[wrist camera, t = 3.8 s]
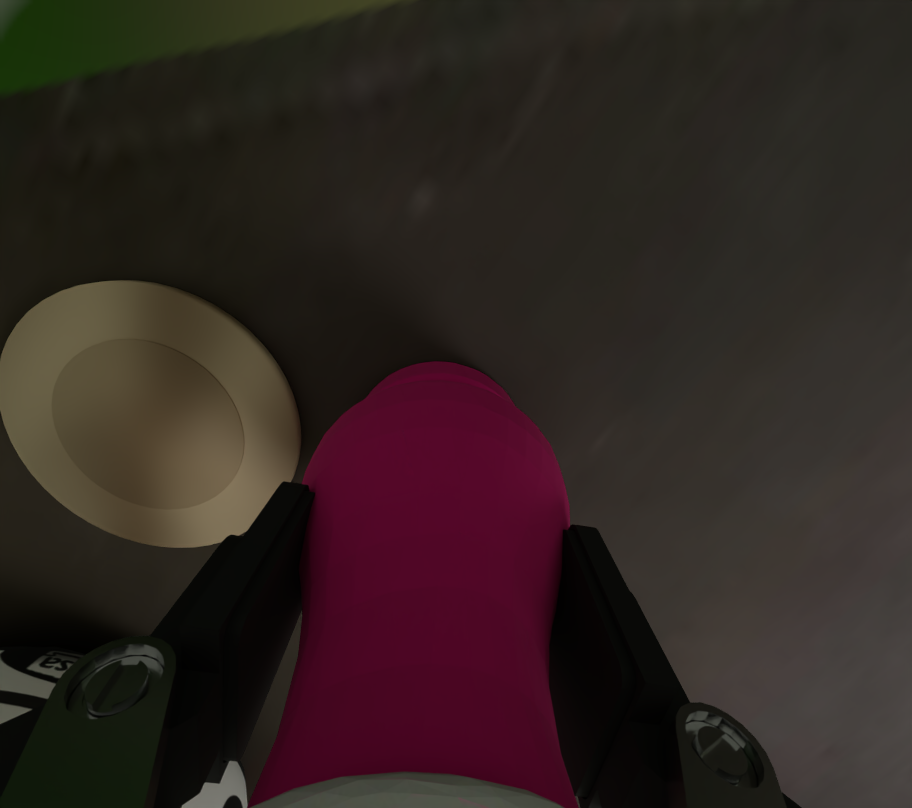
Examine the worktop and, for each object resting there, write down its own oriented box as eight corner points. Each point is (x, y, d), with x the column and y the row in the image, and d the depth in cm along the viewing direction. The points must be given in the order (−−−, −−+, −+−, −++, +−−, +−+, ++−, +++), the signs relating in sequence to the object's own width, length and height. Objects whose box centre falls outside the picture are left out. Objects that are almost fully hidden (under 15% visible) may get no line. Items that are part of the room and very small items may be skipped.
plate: (310, 310, 14) (303, 313, 14) (293, 553, 18) (287, 565, 17) (-10, 253, 14) (-33, 253, 13) (36, 518, 17) (19, 529, 16)
